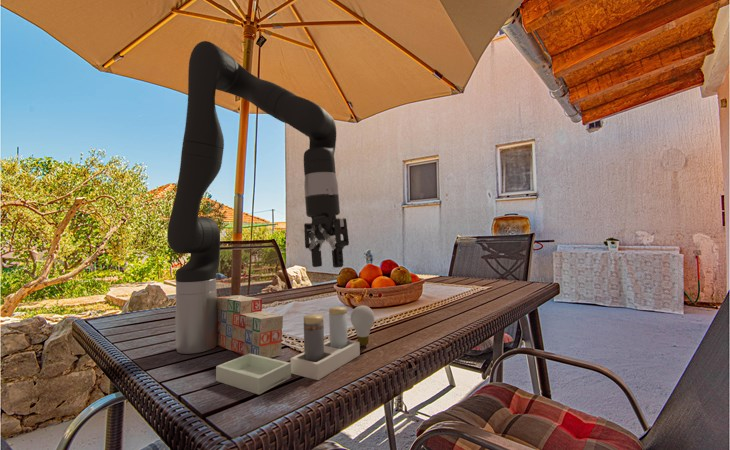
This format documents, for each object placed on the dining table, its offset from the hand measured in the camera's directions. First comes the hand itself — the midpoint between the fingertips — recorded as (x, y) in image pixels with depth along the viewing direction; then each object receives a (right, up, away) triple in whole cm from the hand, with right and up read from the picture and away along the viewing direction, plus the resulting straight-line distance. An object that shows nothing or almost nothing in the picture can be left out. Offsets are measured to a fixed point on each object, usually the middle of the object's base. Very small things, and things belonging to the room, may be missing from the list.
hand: (327, 266), depth 76 cm
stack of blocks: (-21, -22, +8) cm, 31 cm away
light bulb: (+8, -21, +8) cm, 24 cm away
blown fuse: (-2, -21, -6) cm, 22 cm away
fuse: (+3, -21, +1) cm, 21 cm away
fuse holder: (0, -21, -3) cm, 21 cm away
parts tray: (-13, -21, -10) cm, 26 cm away
